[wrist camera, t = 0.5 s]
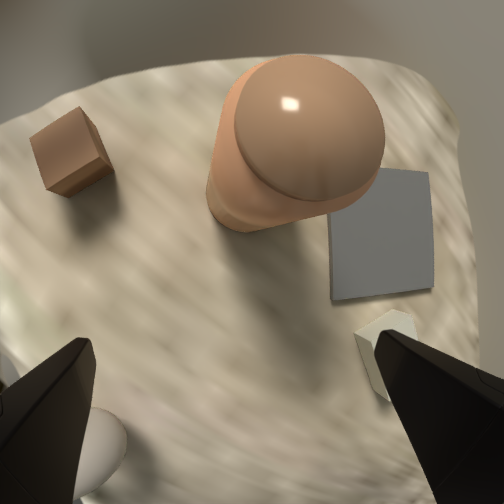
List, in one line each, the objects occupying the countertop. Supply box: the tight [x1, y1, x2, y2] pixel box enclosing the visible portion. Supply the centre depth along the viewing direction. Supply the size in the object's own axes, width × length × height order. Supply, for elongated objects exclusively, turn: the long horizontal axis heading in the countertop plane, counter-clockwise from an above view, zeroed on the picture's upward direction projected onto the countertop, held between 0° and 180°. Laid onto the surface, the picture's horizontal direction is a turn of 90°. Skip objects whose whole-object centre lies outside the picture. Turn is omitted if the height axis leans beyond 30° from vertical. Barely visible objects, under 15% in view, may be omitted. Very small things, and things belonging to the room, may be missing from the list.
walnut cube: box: [29, 106, 114, 198], centre depth 19 cm, size 4×4×4 cm
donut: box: [73, 407, 127, 500], centre depth 16 cm, size 10×3×10 cm, turn 114°
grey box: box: [354, 309, 418, 402], centre depth 24 cm, size 6×4×3 cm, turn 24°
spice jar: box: [206, 55, 385, 232], centre depth 16 cm, size 6×6×14 cm
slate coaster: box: [327, 168, 434, 300], centre depth 24 cm, size 10×10×1 cm
